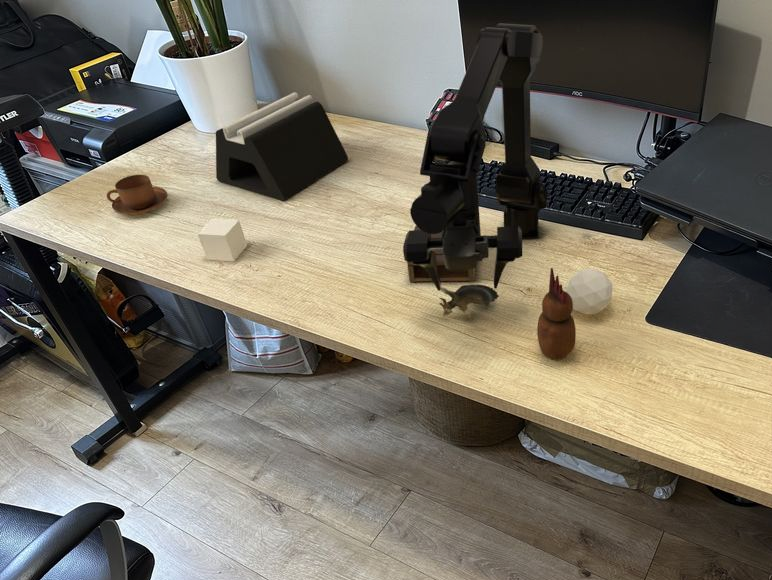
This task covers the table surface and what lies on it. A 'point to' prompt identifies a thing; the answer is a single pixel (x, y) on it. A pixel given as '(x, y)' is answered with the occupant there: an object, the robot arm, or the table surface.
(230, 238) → the cream white cube
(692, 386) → the table surface
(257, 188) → the device stand
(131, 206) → the cup and saucer
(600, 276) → the geometric ball
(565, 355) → the wooden figurine
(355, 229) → the table surface
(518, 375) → the table surface
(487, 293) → the brown grey dinosaur figurine
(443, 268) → the box
